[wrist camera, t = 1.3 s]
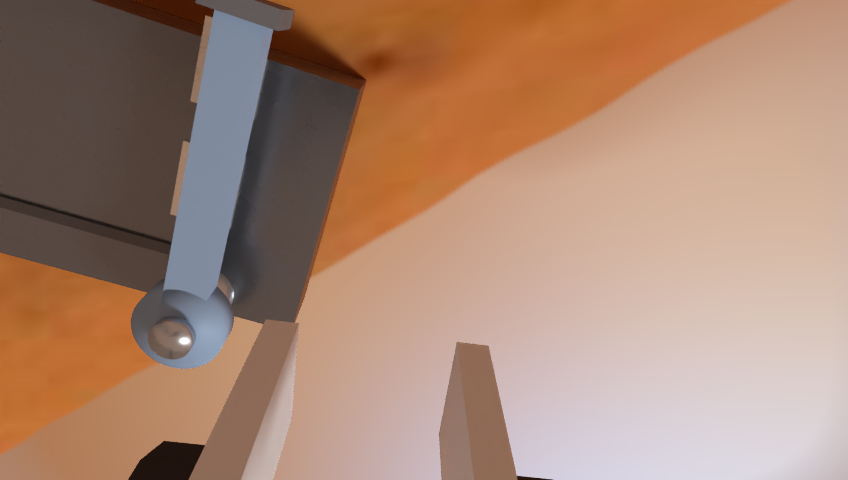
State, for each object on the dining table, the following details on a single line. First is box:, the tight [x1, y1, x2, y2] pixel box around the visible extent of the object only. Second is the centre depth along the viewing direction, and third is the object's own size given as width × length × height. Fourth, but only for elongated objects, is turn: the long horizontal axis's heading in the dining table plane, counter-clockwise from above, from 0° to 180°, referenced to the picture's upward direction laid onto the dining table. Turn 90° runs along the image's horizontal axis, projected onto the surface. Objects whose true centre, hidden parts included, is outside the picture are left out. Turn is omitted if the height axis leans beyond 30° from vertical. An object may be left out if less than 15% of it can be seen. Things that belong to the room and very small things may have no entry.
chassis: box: [0, 0, 366, 360], centre depth 28 cm, size 18×16×9 cm
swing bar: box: [131, 0, 295, 369], centre depth 26 cm, size 18×4×2 cm, turn 161°
